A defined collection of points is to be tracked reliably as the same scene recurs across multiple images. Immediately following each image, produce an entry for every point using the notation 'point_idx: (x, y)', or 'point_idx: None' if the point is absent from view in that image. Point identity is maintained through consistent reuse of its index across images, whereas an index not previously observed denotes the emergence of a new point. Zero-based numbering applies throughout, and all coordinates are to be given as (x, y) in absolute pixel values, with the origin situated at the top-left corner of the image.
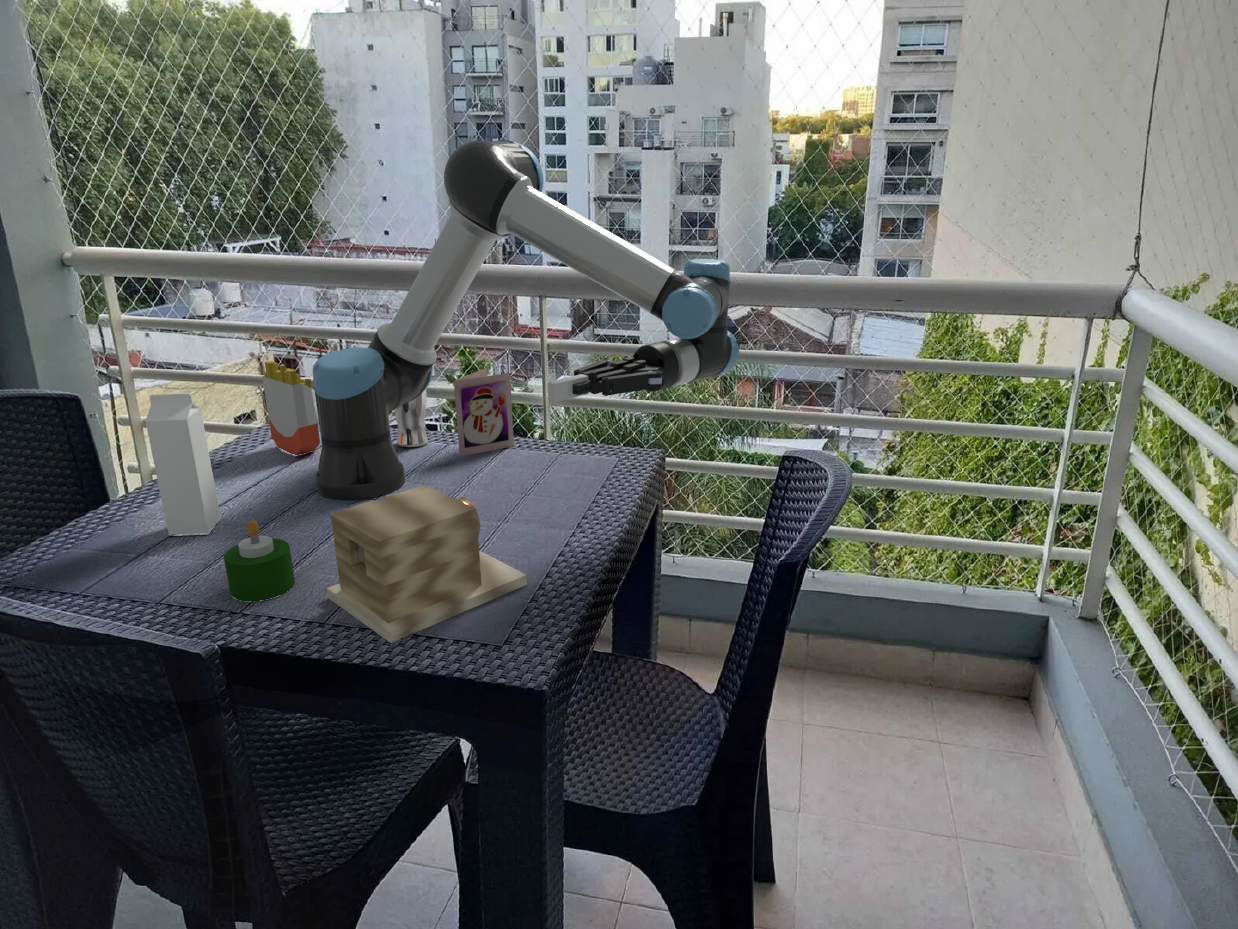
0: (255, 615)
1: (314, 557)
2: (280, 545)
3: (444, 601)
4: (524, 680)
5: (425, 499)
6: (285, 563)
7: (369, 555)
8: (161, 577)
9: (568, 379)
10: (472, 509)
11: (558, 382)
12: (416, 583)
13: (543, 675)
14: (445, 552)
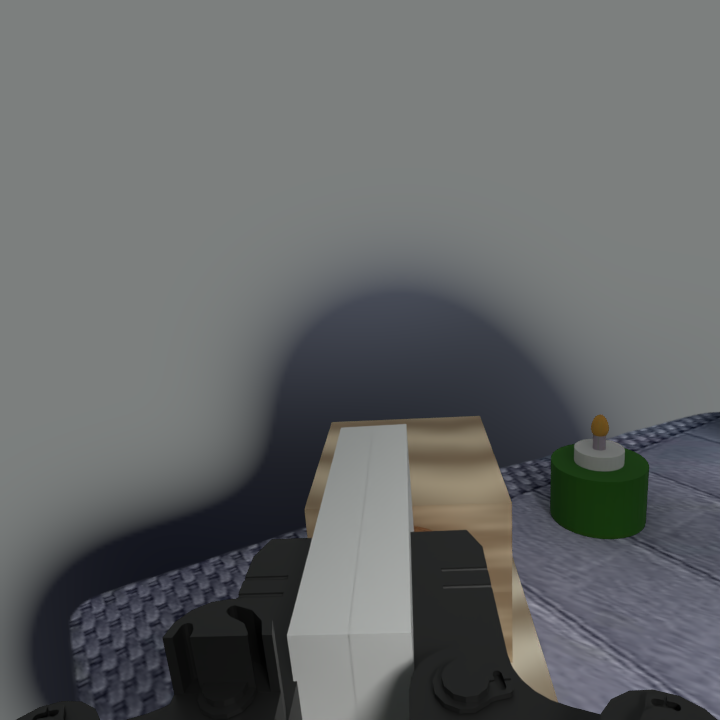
0: (514, 496)
1: (683, 575)
2: (603, 476)
3: None
4: (98, 601)
5: (428, 482)
6: (565, 487)
7: None
8: (696, 468)
9: (350, 491)
10: (307, 504)
11: (345, 442)
12: None
13: (75, 619)
14: None
